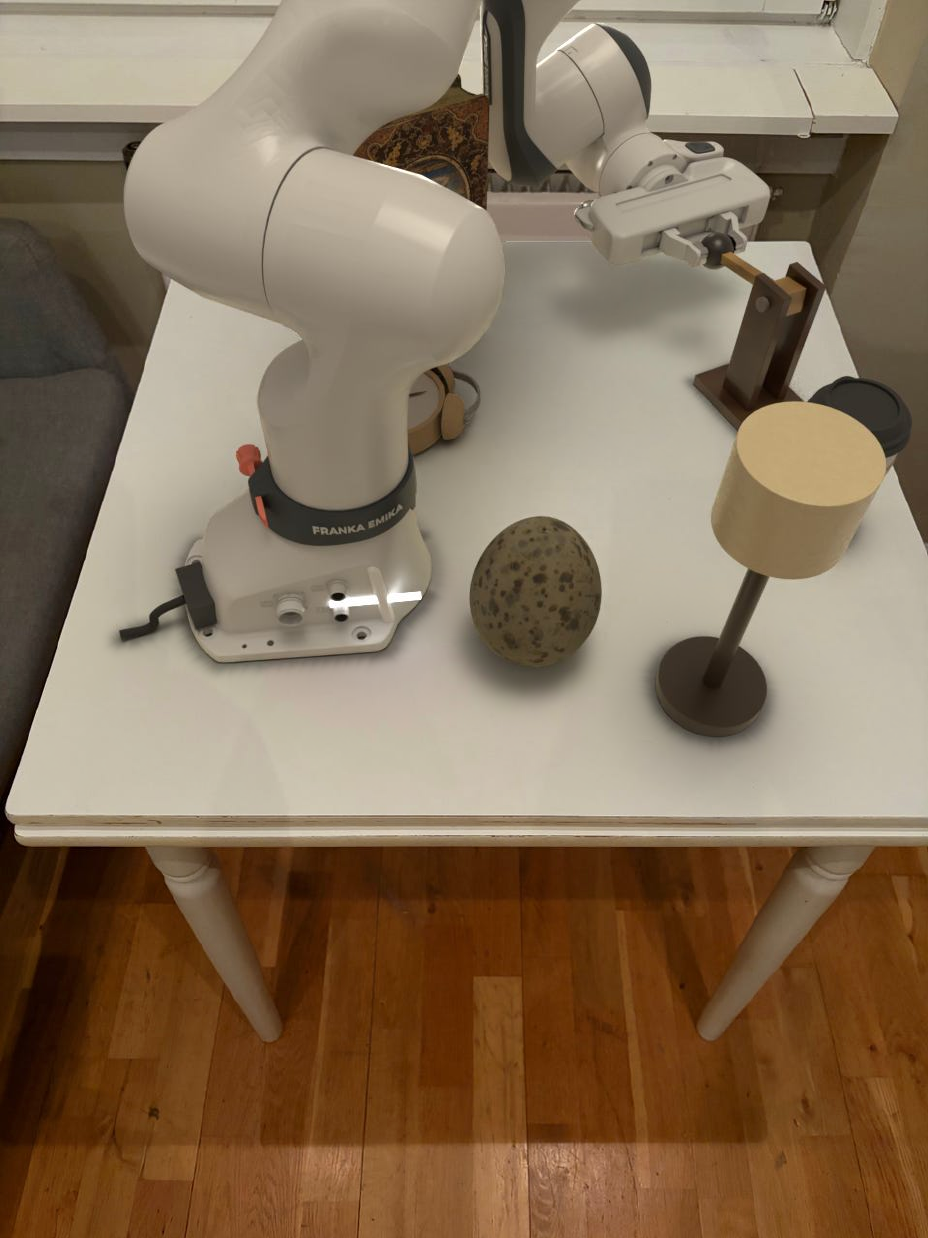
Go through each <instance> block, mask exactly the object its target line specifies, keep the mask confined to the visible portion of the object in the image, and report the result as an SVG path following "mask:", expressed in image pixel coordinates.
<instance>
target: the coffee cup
mask: <svg viewBox="0 0 928 1238" xmlns="http://www.w3.org/2000/svg"><path fill="white" fill-rule="evenodd" d="M806 402H809V403H815V404H820V405H824V406H827V407H831V408H833V409H836V410H839V411H841V412H843V413H845V414H847V415H849V416H851V417H852V418H854V419H856V420H857V421H858V422H860V423H861V424H863V425H864V426H865V427H866V428H867V429H868V430H869V431H870V432H871V433H872V434H873V435H874V436H875V437H876V439H877V440H878V442H879V443H880V445H881V447H882V449H883V451H884V455H885V458H886V473H885V477H886V475H888V473H889V471H890V470H891V468H892V467H893V466H894V464H895V462H896V459H897V455H898V454H899V453H901V452H902V451H903V450H905V448H906V446H907V445H908V444H909V442H910V440H911V430H912V426H913V419H912V418H913V417H912V415H911V412H910V409H909V408H908V406H907V404H906V403H905V401H904V400H903V399H902V397H901V395H899V394H898V393H897V391H895V390H894V389H893V388H891V387H889V386H888V385H886V384H884V383H882V382H879V381H877V380H873V379H869V378H861V377H853V376H851V375H844V376H840V377H838V378H837V379H835V380H834V381H832V382H831V383H828V384H825V385H823V386H821V387H820V388H819V389H817V390H816V391H815V392H814V393H813V394H812V395H811V397H809V399H808V400H807V401H806Z"/></svg>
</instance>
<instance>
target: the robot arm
mask: <svg viewBox="0 0 928 1238" xmlns="http://www.w3.org/2000/svg"><path fill="white" fill-rule="evenodd" d="M581 1H582V0H280V2H279V5H278V7H277V9H276V11H275V13H274V14H273V15H274V16H273V17H272V19H271V21H270V22H269V24H268V26H267V27H266V29H265V31H264V32H263V34H262V36H261V37H260V38H259V40H258V41H257V43H256V44H255V46H254V47H253V48H252V50H251V51H250V52H249V54H248V55H247V56H246V57H245V59H244V60H243V61H242V63H241V64H240V65H239V66H238V67H237V69H236V70H235V71H234V72H233V73H232V74H231V75H230V77H228V78H227V79H226V81H225V82H224V83H222V85H221V86H219V88H218V89H216V90H215V91H214V92H213V93H212V94H211V95H210V96H208V97H207V98H206V99H204V100H203V101H202V102H200V103H199V104H198V105H196V106H195V107H194V108H192V109H191V110H189V111H187V112H185V113H183V114H181V115H179V116H177V117H175V118H172V119H170V120H168V121H166V122H162V123H161V124H159V125H157V126H156V127H154V129H152V130H151V131H150V132H149V133H148V134H147V135H146V136H144V138H143V140H141V142H140V143H139V145H138V146H137V148H136V150H135V151H134V153H133V156H132V157H131V160H130V162H129V165H128V167H127V171H126V174H125V178H124V179H125V180H124V185H123V212H124V219H125V224H126V227H127V230H128V234H129V237H130V240H131V243H132V245H133V246H134V248H135V250H136V252H137V253H138V255H139V256H140V257H141V259H142V260H143V261H145V262H146V263H147V265H150V266H151V267H152V268H154V269H155V270H157V271H158V272H160V273H161V274H163V275H164V276H166V277H167V278H169V279H170V280H172V281H174V282H176V283H177V284H179V285H181V286H182V287H184V288H186V289H187V290H189V291H190V292H192V293H194V294H196V295H198V296H199V297H201V298H203V299H207V300H209V301H212V302H215V303H218V304H221V305H224V306H227V307H229V308H232V309H236V310H237V311H238V310H239V311H242V312H244V313H248V314H250V315H253V316H257V317H259V318H263V319H266V320H269V321H271V322H274V323H277V324H280V325H282V326H283V327H285V328H288V329H289V330H291V331H293V332H295V333H296V334H297V335H299V338H300V340H298V341H297V342H295V343H292V344H291V345H289V346H288V347H286V348H284V349H282V350H281V351H280V352H279V353H278V354H277V355H276V356H275V357H274V358H273V359H272V360H271V361H270V363H269V364H268V365H267V367H266V369H265V371H264V373H263V375H262V378H261V380H260V384H259V387H258V391H257V397H256V405H257V406H256V407H257V412H258V415H259V420H260V424H261V430H262V434H263V439H264V444H265V448H266V449H265V450H266V453H267V455H266V457H265V458H264V460H262V453H261V450H260V448H259V447H258V446H256V445H255V444H253V443H252V444H251V443H247V444H246V443H245V444H243V445H240V446H239V447H238V448H237V450H236V451H235V459H236V461H237V463H238V470H239V473H241V474H242V475H244V476H246V477H249V478H248V480H247V484H248V485H247V486H248V488H247V489H246V490H244V491H243V492H241V493H240V494H239V495H237V496H236V497H235V498H233V499H232V500H230V501H229V502H227V503H225V504H224V505H223V506H222V507H219V508H218V509H217V510H216V511H214V512H213V513H212V515H211V516H210V517H209V518H208V521H207V522H206V525H205V528H204V530H203V531H204V532H203V537H202V538H199V539H198V540H196V541H195V542H194V543H193V545H192V546H191V548H190V550H189V552H188V554H187V557H186V560H185V562H184V565H183V566H180V567H177V568H175V569H174V570H175V571H174V572H175V575H176V577H177V580H178V583H179V586H180V589H181V592H182V594H181V595H179V596H177V597H175V598H173V599H170V600H168V601H165V602H164V603H161V604H159V605H158V606H157V607H155V608H154V609H153V610H152V611H151V612H150V613H149V615H148V620H149V621H148V622H147V623H146V624H143V625H140V626H134V627H128V628H123V629H119V630H118V633H119V636H120V638H121V640H125V639H128V638H129V639H130V638H134V637H140V636H143V635H147V634H150V633H151V632H153V631H155V630H156V629H157V628H158V627H159V625H160V619H159V618H161V616H163V615H164V614H166V613H168V612H170V611H173V610H175V609H177V608H179V607H181V606H184V605H185V610H186V615H187V619H188V622H189V626H190V628H191V632H192V633H193V636H194V637H195V640H196V641H197V643H198V645H199V646H200V648H201V649H202V650H203V651H204V652H205V653H206V655H208V656H209V657H210V658H211V659H213V660H214V661H216V662H218V663H237V662H252V661H263V660H279V659H290V658H291V659H293V658H304V657H305V658H306V657H319V656H331V655H345V654H347V655H348V654H359V653H374V652H380V651H382V650H384V649H386V648H387V647H388V645H390V643H391V641H392V639H393V637H394V635H395V632H396V630H397V627H398V624H399V623H400V622H401V621H402V620H403V619H404V618H405V617H406V616H407V615H408V614H409V613H410V612H411V611H412V610H413V609H414V608H415V607H416V606H417V605H418V604H420V601H422V598H424V595H425V594H426V592H427V590H428V587H429V585H430V582H431V578H432V574H433V573H432V572H433V570H432V569H433V563H432V558H431V553H430V551H429V548H428V546H427V544H426V542H425V540H424V539H423V536H422V534H421V532H420V531H421V530H420V528H419V525H418V521H417V515H416V511H415V508H416V506H417V505H416V502H417V501H416V500H417V499H416V498H417V494H418V485H417V484H418V483H417V482H418V481H417V467H416V466H417V465H416V460H415V457H414V454H412V452H411V449H410V446H409V443H408V401H409V393H410V390H411V387H412V385H413V383H414V382H415V380H416V379H417V378H418V377H419V376H420V375H421V374H423V373H424V372H426V371H428V370H430V369H432V368H434V367H437V366H441V365H445V364H447V365H448V364H450V363H452V362H454V361H456V360H457V359H459V358H461V357H462V356H463V355H465V354H466V353H468V352H469V351H470V350H471V349H472V348H473V347H474V346H476V345H477V343H478V342H479V341H480V340H481V338H482V337H483V336H484V335H485V334H486V333H487V331H488V329H489V328H490V326H491V324H492V322H493V321H494V319H495V317H496V315H497V313H498V310H499V307H500V305H501V302H502V297H503V293H504V289H505V288H504V287H505V280H506V279H505V278H506V264H505V254H504V249H503V244H502V239H501V236H500V234H499V231H498V228H497V226H496V224H495V222H494V220H493V218H492V216H491V214H490V213H489V212H488V210H487V211H486V210H485V209H483V208H482V207H480V206H478V205H476V204H475V203H473V202H471V201H469V200H468V199H466V198H464V197H462V196H460V195H459V194H457V193H455V192H453V191H451V190H449V189H448V188H446V187H444V186H442V185H440V184H438V183H436V182H434V181H432V180H430V179H428V178H426V177H424V176H423V175H420V174H416V173H413V172H409V171H405V170H402V169H398V168H395V167H391V166H387V165H384V164H380V163H377V162H373V161H369V160H366V159H362V158H359V157H355V156H353V154H354V153H355V152H356V150H357V149H358V148H359V146H360V145H361V144H362V143H363V142H364V141H365V140H366V139H367V138H368V137H369V136H370V135H371V134H372V133H374V132H375V131H376V130H378V129H379V128H380V127H382V126H383V125H385V124H387V123H388V122H390V121H392V120H395V119H398V118H401V117H404V116H407V115H410V114H413V113H416V112H419V111H421V110H424V109H426V108H428V107H430V106H431V105H433V104H434V103H436V102H437V101H438V100H439V99H440V98H441V97H442V96H443V95H444V94H445V93H446V92H447V90H448V89H449V88H450V86H451V85H452V83H453V82H454V80H455V79H456V77H457V75H458V74H460V73H459V72H460V69H461V67H462V63H463V60H464V57H465V53H466V51H467V48H468V44H469V42H470V39H471V36H472V32H473V29H474V26H475V23H476V21H477V17H478V14H479V29H480V30H479V32H480V35H479V36H480V57H481V58H480V61H481V87H482V88H481V90H482V93H481V94H485V95H486V96H487V97H488V99H489V147H488V163H489V164H490V166H491V167H492V168H493V170H494V171H495V172H496V174H497V175H498V177H499V178H500V179H501V180H502V181H504V182H505V183H507V184H510V185H514V186H519V187H525V188H526V187H528V188H529V187H530V188H539V187H540V186H541V185H542V184H543V183H544V182H546V181H547V180H548V179H549V178H550V177H551V176H552V175H554V174H555V173H556V172H557V171H559V170H558V169H559V168H560V167H562V166H563V165H564V164H565V166H566V167H567V168H568V170H570V172H571V173H572V174H573V175H574V177H575V178H577V180H579V182H580V183H581V184H582V185H583V186H584V187H585V188H587V189H588V190H590V191H592V192H595V193H596V194H597V196H598V198H595V199H592V200H591V199H589V200H584V201H582V202H581V203H580V204H579V206H578V207H577V208H576V209H575V210H574V212H573V217H574V220H575V222H577V224H578V225H579V226H580V227H581V228H583V229H584V230H585V231H587V234H588V237H589V239H590V241H591V243H592V244H593V246H594V247H595V249H596V250H597V251H598V253H599V254H600V255H601V257H602V258H603V259H604V260H605V261H606V262H607V263H610V264H613V265H617V266H621V265H624V264H628V263H631V262H635V261H638V260H641V259H645V258H648V257H651V256H654V255H655V256H656V255H658V254H661V253H663V254H664V255H665V256H668V257H671V258H674V259H677V260H681V261H685V262H686V263H687V264H688V265H689V266H690V267H691V268H697V267H700V266H703V264H705V263H706V262H707V259H706V258H707V257H708V254H709V251H708V249H707V248H706V247H704V246H703V244H702V243H701V241H702V240H703V239H704V238H705V237H706V236H707V235H709V234H711V233H716V232H719V233H723V234H725V235H727V236H728V237H729V238H730V239H731V241H732V243H733V247H734V252H733V254H735V255H738V254H741V253H744V252H745V251H746V249H747V245H748V242H749V240H748V237H747V236H746V235H745V234H744V233H743V232H742V231H741V229H744V228H747V227H750V226H753V225H757V224H760V223H762V222H763V220H764V218H765V216H766V213H767V209H768V207H769V203H770V199H771V190H770V187H769V185H768V184H767V183H766V182H765V181H764V180H763V179H762V178H760V176H758V175H757V174H756V173H754V171H752V170H751V169H750V168H749V167H747V166H746V165H744V164H743V163H742V162H740V161H738V160H736V159H734V158H730V157H725V156H724V153H725V152H724V151H725V149H724V147H723V146H722V145H721V144H720V143H718V142H715V141H679V140H674V139H662V138H661V137H660V136H658V135H657V134H655V133H653V132H650V131H649V129H648V128H647V127H648V126H647V124H646V120H648V119H649V116H650V110H651V101H652V100H651V99H652V77H651V72H650V68H649V65H648V62H647V59H646V58H645V56H644V54H643V52H642V51H641V49H640V47H639V46H638V45H637V43H635V42H634V41H633V39H632V38H631V37H630V36H629V35H628V34H626V33H625V32H623V31H622V30H620V29H618V28H617V27H615V26H613V25H610V24H607V23H602V22H592V23H591V24H590V25H588V26H587V27H585V28H583V29H582V30H581V31H579V32H578V33H577V34H575V35H574V36H572V37H571V38H570V39H568V40H567V41H566V42H564V43H563V44H561V46H559V47H558V48H556V49H555V50H554V51H553V52H552V53H551V54H549V55H548V56H547V57H545V58H544V59H543V60H542V61H540V62H538V58H539V55H540V52H541V50H542V48H543V46H544V45H545V43H546V42H547V40H548V38H549V37H550V36H551V34H552V32H553V31H554V30H555V29H556V28H557V26H559V24H560V23H561V22H562V21H563V20H564V19H565V17H566V16H567V15H568V14H570V12H571V11H572V10H573V9H574V8H575V7H576V6H577V5H578V4H579V3H580V2H581ZM209 634H211V635H209ZM207 635H209V636H207ZM360 637H364V638H363V639H359V638H360Z"/></svg>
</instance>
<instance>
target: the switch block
mask: <svg viewBox="0 0 928 1238" xmlns="http://www.w3.org/2000/svg"><path fill="white" fill-rule="evenodd" d="M768 276H769V275H767V274H766V273H765V272H763V273H761V274H758V275H756V276H755V280H754V283H753V285H752V286H751V290H750V293H749V297H748V300H747V304H746V307H745V308H744V309H745V310H744V313H743V316H742V320H741V322H740V326H739V329H738V333H737V337H736V339H735V344H734V345H733V350H732V354H731V356H730V360H729V363H725V364H723V365H720V366H717V367H714V368H712V369H708V370H706V371H702V372H700V373H697V374H695V375H694V379H693V382H692V384H693V385H694V386H695V387H696V389H698V390H699V391H700V392H701V393H702V395H704V397H705V398H706V399H707V400H708V401H709V402H710V403H711V404H712V405H713V406H714V407H715V408H716V409H717V410H718V411H719V413H721V415H723V417H724V418H725V419H727V421H728V422H729V423H730V424H731V425H732V426H733V427H734V428H735V430H737V431H738V430H739V428H740V426H741V424H742V423H743V421H744V420H745V419H746V418H747V417H748V416H750V415H751V414H752V413H753V412H755V411H757V410H759V409H760V408H763V407H765V406H768V405H772V404H775V403H781V402H793V401H795V402H805V401H804V399H802V398H801V397H800V396H799V395H798V393H796V392H795V391H794V390H793V389H792V388H791V387H790V385H791V383H792V379H793V377H794V374H795V372H796V369H797V367H798V363H799V361H800V359H801V356H802V353H803V350H804V348H805V345H806V342H807V340H808V338H809V334H810V331H811V329H812V327H813V323H814V321H815V318H816V316H817V313H818V311H819V307H820V306H821V305H820V304H821V302H822V299H823V297H824V295H825V291H826V290H827V289H826V288H827V285H825V284H824V283H823V282H822V281H821V280H820V279H818V278H817V277H816V276H815V275H814V274H812V272H810V271H809V270H808V269H807V268H805V267H804V266H803V265H802V264H801V263H800V262H798V261H795V262H792V263H789V264H788V267H787V270H786V273H785V276H784V277H789V278H791V279H792V280H794V281H795V282H797V283H799V284H800V285H802V286H803V287H805V288H806V293H805V298H804V302H803V306H802V311H801V312H798V313H795V314H792V315H789V316H786V315H787V312H788V309H789V306H790V303H791V300H792V297H791V296H790V295H789V294H787V293H786V292H785V291H784V290H783V289H782V288H781V287H780V286H778V285H777V284H776V283H775V282H774V281H773V280H774V279H773V278H772V279H773V280H772V279H770V278H771V277H770V276H769V277H770V278H769V277H768Z"/></svg>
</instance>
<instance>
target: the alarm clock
mask: <svg viewBox="0 0 928 1238" xmlns="http://www.w3.org/2000/svg"><path fill="white" fill-rule="evenodd" d="M456 380H458V381H462V382H464V383H467V385H468V384H469V385H470V386H471V387H472V388H473V389H474V391H475V392H476V393H475V394H476V397H475V401H474V402H473V403H472V404H471V405H470V406H469V407H468V408H467V409H466V405H465V403H464V400H463V399H462V398H461V396H459V395H458V394H455V393H454V391H455V389H456ZM480 404H481V388H480V385H479V383H478V382H477V380H475V378H474V377H473V376H472V375H469V374H468V373H465V372H462V371H458V370H455V369H452V367H451V366H449V365H448V364H445V365H441V366H437V367H434V368H432V369H430V370H428V371H426V372H424V373H423V374H421V375H420V376H419V377H418V378H417V379H416V380H415V382H414V383H413V385H412V387H411V390H410V393H409V401H408V443H409V446H410V449H411V452H412V454H413V455H417V454H419V453H421V452H423V451H425V450H426V449H428V448H429V447H431V446H432V445H434V444H435V443H436V442H437V441H438V440H439V439H440V437H441V436H442V439H443V440H454V439H457V438H458V437H459V436H460V434H461V433H462V432H463V430H464V427H465V426H466V425H467V424H469V423H471V418H470V417H471V416H472V415H473V414H474V413H475V412H476V411H477V410H478V409H479V407H480V406H481V405H480Z"/></svg>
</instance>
